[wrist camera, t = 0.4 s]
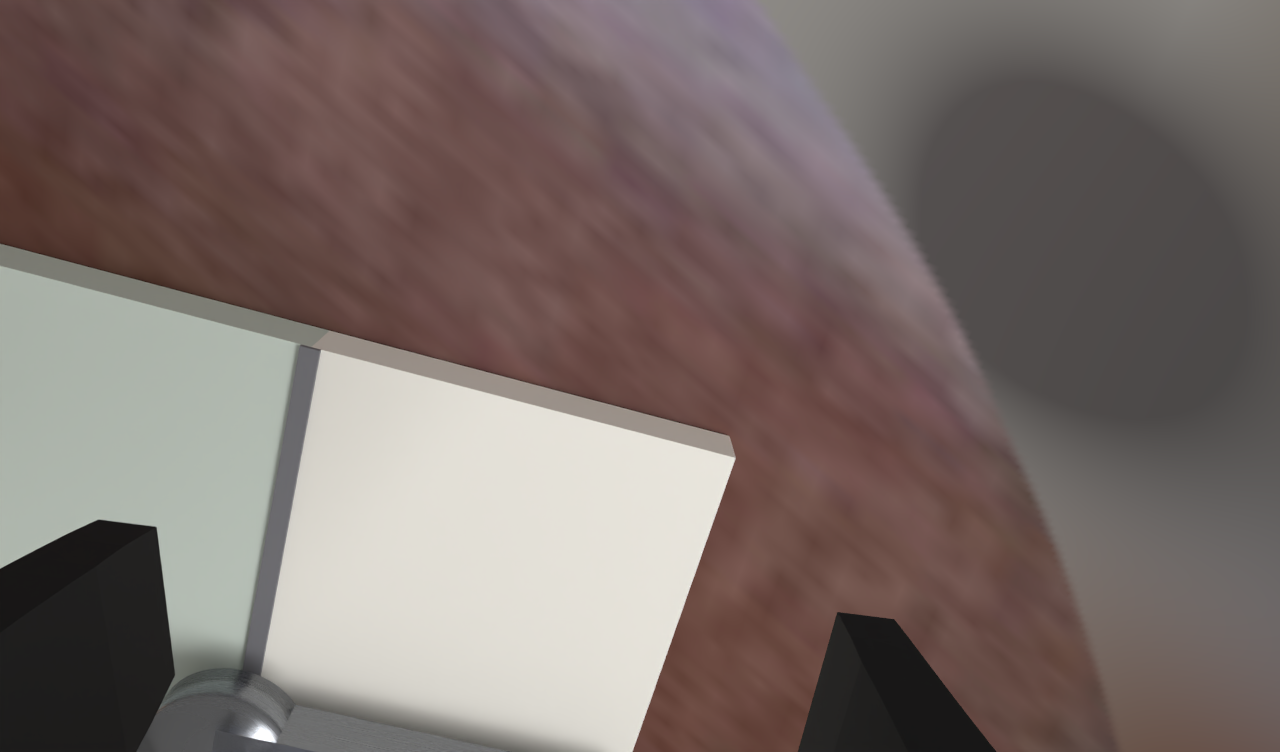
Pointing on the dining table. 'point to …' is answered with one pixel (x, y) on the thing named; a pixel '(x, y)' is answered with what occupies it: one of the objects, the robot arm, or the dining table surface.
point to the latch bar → (270, 722)
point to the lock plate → (357, 508)
